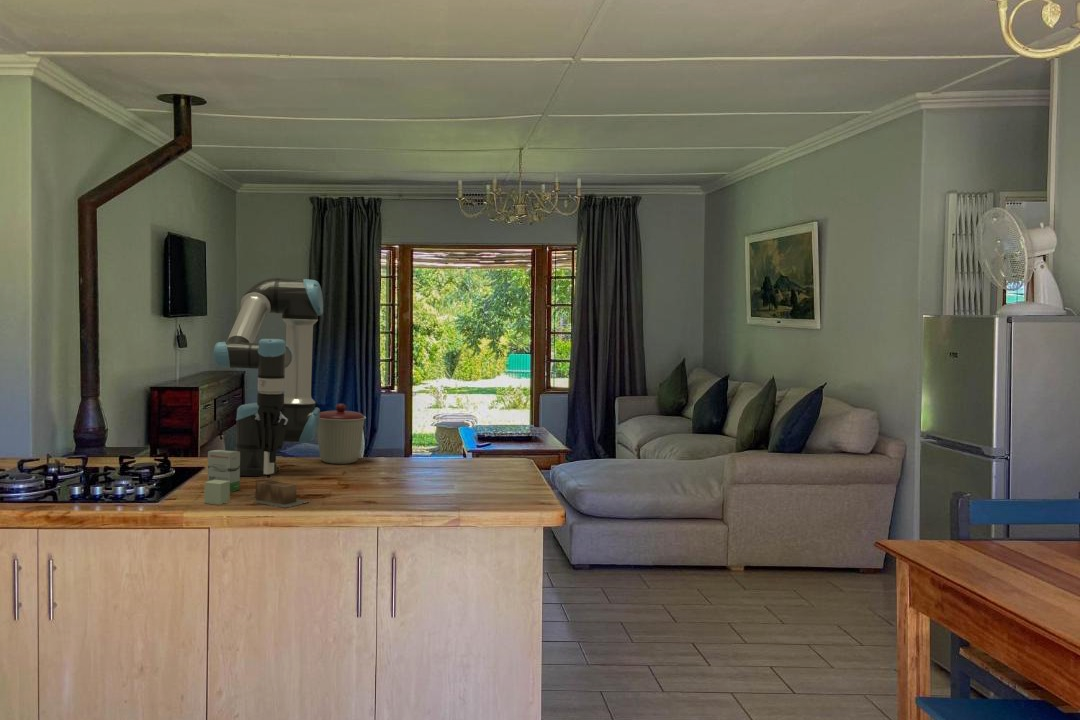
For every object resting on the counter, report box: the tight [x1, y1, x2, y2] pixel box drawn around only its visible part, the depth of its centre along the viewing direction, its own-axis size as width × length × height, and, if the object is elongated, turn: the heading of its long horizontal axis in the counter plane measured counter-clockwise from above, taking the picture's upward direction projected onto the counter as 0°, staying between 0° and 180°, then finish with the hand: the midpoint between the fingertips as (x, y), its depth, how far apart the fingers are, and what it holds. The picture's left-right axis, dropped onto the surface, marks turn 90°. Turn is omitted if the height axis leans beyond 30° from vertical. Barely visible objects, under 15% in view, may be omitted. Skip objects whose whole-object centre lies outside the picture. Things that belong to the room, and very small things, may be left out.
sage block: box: [203, 480, 231, 506], centre depth 293 cm, size 5×5×6 cm
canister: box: [317, 403, 367, 465], centre depth 368 cm, size 18×18×21 cm
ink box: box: [206, 449, 241, 493], centre depth 311 cm, size 9×5×12 cm, turn 71°
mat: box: [252, 499, 307, 509], centre depth 296 cm, size 12×10×1 cm
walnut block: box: [254, 479, 298, 505], centre depth 297 cm, size 5×5×11 cm
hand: (268, 473), depth 298 cm, fingers closed
